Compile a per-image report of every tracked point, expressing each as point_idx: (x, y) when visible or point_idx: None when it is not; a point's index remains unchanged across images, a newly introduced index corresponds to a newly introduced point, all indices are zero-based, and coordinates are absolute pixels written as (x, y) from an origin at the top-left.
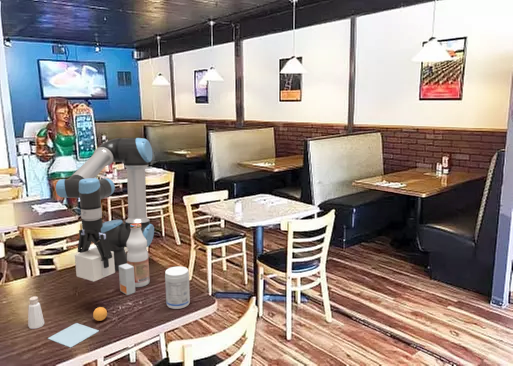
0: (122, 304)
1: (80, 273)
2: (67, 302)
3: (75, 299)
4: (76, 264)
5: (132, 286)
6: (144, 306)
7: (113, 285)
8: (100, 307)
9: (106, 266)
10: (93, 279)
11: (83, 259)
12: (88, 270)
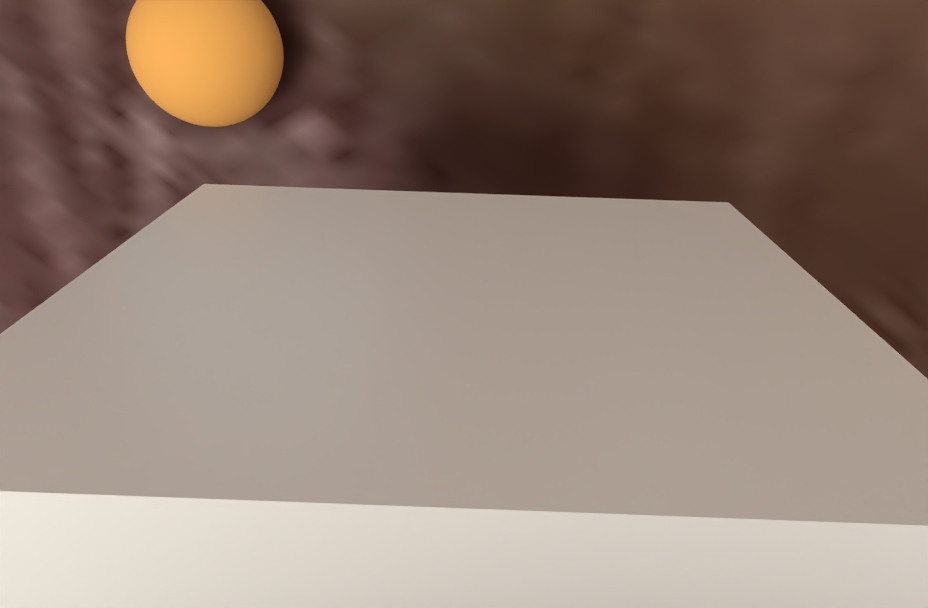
0: None
1: (611, 225)
2: (854, 145)
3: (820, 229)
4: (812, 314)
5: None
6: None
7: None
8: (179, 70)
9: None
10: (194, 197)
11: (447, 439)
12: (288, 265)
